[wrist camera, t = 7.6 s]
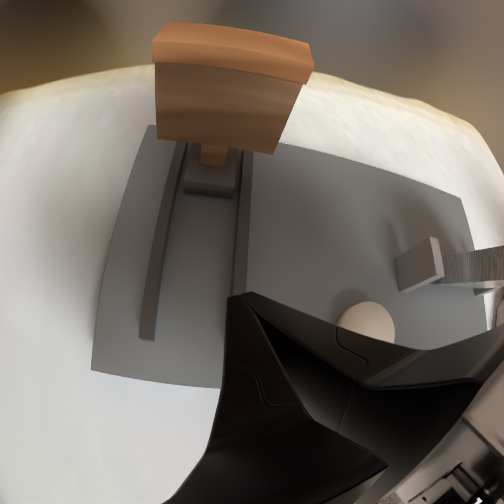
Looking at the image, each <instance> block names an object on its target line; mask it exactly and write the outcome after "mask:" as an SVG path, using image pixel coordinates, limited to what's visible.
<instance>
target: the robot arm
mask: <svg viewBox="0 0 504 504" xmlns="http://www.w3.org/2000/svg"><path fill="white" fill-rule="evenodd" d="M394 492H395V493H396V494H397V496H398V497H399V498H400V499H401V501H402V502H403V503H404V504H475V503H476V502H477V501H478V500H477V498H478V497H479V498H480V499H481V500H482V501H483V502H481V503H480V504H504V323H503V324H501V325H499V326H497V327H495V328H493V329H491V330H489V331H486V332H484V333H481V334H478V335H476V336H473V337H470V338H467V339H464V340H462V341H459V342H456V343H453V344H450V345H446V346H443V347H440V348H437V349H431V350H420V349H414V348H410V347H406V346H402V345H398V344H394V343H390V342H387V341H383V340H379V339H376V338H372V337H369V336H365V335H362V334H359V333H356V332H353V331H351V330H348V329H345V328H343V327H340V326H336V325H335V324H332V323H329V322H327V321H324V320H322V319H319V318H317V317H314V316H312V315H309V314H307V313H304V312H302V311H299V310H297V309H294V308H292V307H289V306H287V305H284V304H282V303H279V302H277V301H275V300H272V299H270V298H267V297H265V296H263V295H260V294H258V293H255V292H253V291H250V292H246V293H242V294H240V295H234V296H230V297H227V302H226V319H225V337H224V357H223V374H222V384H221V390H220V396H219V401H218V405H217V409H216V413H215V417H214V422H213V426H212V430H211V434H210V438H209V441H208V444H207V447H206V450H205V452H204V454H203V456H202V458H201V459H200V460H199V462H198V463H197V465H196V466H195V467H194V469H193V470H192V471H191V473H190V474H189V475H188V477H187V478H186V479H185V481H184V482H183V483H182V485H181V486H180V487H179V489H178V490H177V491H176V493H175V494H174V495H173V496H172V497H171V498H170V499H168V500H167V501H165V502H164V503H162V504H353V503H354V502H355V503H356V504H377V503H379V502H381V501H382V500H384V499H385V498H387V497H388V496H390V495H391V494H393V493H394Z"/></svg>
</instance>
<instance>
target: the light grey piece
mask: <svg viewBox="0 0 504 504" xmlns="http://www.w3.org/2000/svg"><path fill="white" fill-rule="evenodd" d="M441 257H442V262H443V268H444V274H445V276H444V277H441V278H439V279H437V280H435V281H433V282H431V283H430V284H431V285H441V286H453V287H465V288H477V289H480V288H498V287H504V246H499V247H493V248H488V249H482V250H476V251H470V252H465V253H459V254H453V255H446V256H441Z"/></svg>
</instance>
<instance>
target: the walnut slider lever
mask: <svg viewBox="0 0 504 504" xmlns="http://www.w3.org/2000/svg"><path fill="white" fill-rule="evenodd" d="M152 62H155V100H156V124H157V139H161V140H172V141H182V142H191V143H192V146H191V150H190V154H189V158H188V163H187V167H186V172H185V176H184V187H183V192H184V193H193V194H201V195H208V196H216V197H223V198H230V199H231V198H232V194H233V191H234V187H235V177H236V167H237V157H238V149H241V150H248V151H253V152H259V153H265V154H270V155H273V153H274V151H275V149H276V146H277V144H278V141H279V139H280V137H281V134H282V132H283V130H284V127H285V125H286V123H287V120H288V118H289V115H290V113H291V111H292V108H293V106H294V104H295V101H296V99H297V97H298V95H299V92H300V90H301V88H302V85H303V84H305V85H306V84H307V82H308V79H309V77H310V75H311V73H312V70H313V68H314V63H313V59H312V55H311V51H310V48H309V44H307V43H303V42H300V41H296V40H292V39H288V38H284V37H280V36H275V35H271V34H266V33H261V32H256V31H251V30H245V29H239V28H232V27H225V26H217V25H207V24H197V23H182V22H167V23H166V25H165V26H164V27H163V28H162V29H161V31H160V32H159V33H158V34H157V36H156V37H155V38H154V39H153V41H152Z"/></svg>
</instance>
